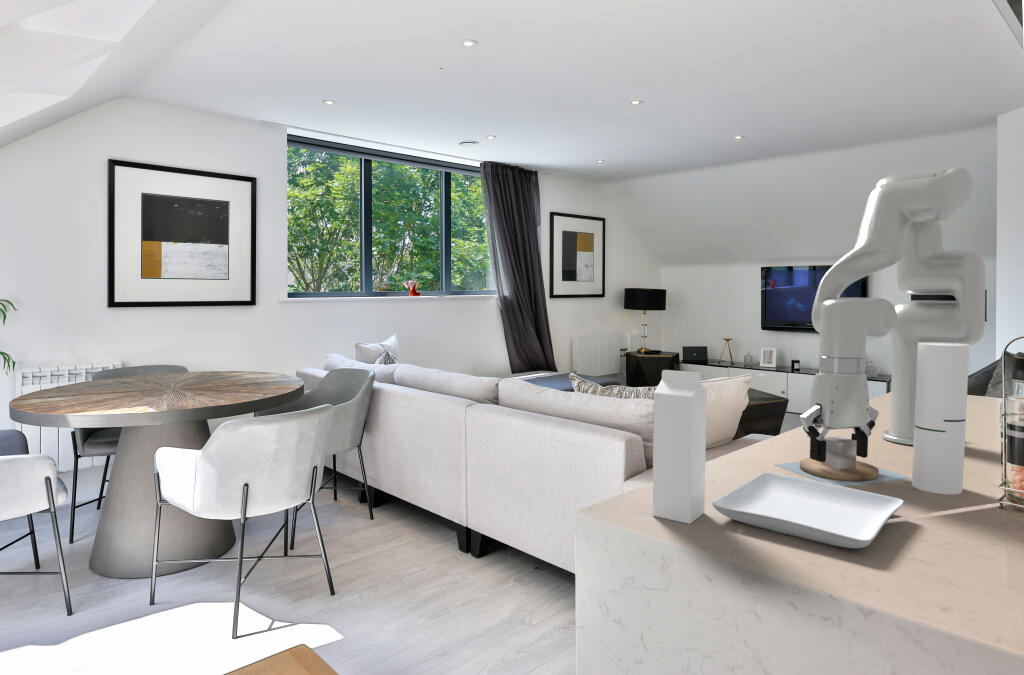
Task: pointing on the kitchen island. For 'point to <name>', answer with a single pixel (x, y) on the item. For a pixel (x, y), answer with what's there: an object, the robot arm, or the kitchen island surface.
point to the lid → (840, 463)
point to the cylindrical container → (940, 417)
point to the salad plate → (809, 509)
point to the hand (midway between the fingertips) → (838, 458)
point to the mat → (883, 476)
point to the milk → (679, 447)
